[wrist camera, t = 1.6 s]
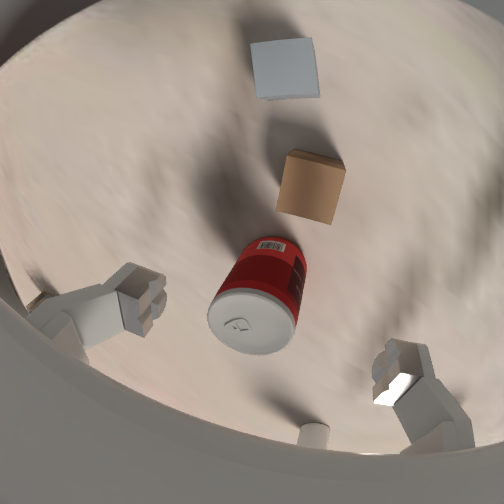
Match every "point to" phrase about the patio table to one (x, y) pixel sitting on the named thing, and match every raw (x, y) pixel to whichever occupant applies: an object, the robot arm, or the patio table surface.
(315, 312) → the patio table surface
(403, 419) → the robot arm
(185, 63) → the patio table surface
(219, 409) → the patio table surface
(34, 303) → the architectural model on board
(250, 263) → the canned food
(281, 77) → the grey block
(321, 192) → the walnut block
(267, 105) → the patio table surface
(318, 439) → the white bottle
